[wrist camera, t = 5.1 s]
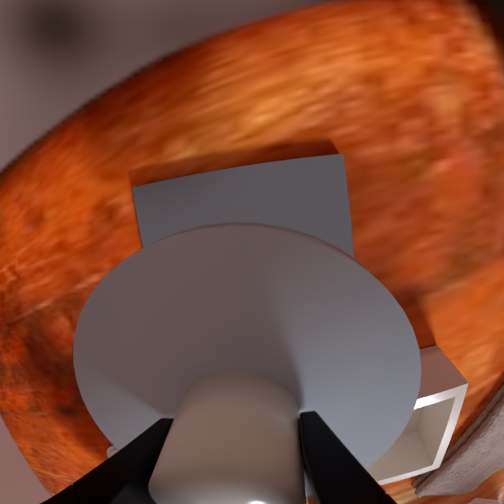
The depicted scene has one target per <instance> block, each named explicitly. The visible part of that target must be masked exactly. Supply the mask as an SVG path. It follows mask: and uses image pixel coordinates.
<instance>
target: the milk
mask: <svg viewBox="0 0 504 504" xmlns="http://www.w3.org/2000/svg"><path fill="white" fill-rule="evenodd" d="M468 504H500V503H499V501H498V500H494V499H483V498H475V499H473V500H472V501H471V502H469V503H468Z"/></svg>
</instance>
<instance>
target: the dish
mask: <svg viewBox="0 0 504 504" xmlns="http://www.w3.org/2000/svg"><path fill="white" fill-rule="evenodd" d="M420 359H421V382H420V389H419V394H418V398H417V402H416V405H415V407H414V410H413V412H412V415H411V417H410V420H409V421H408V423H407V425H406V426H405V428H404V430H403V431H402V433H401V435H400V436H399V437H398V439H397V440H396V441H395V442H394V444H393V445H392V446H391V447H390V449H389V450H388V451H387V452H386V453H385V454H384V455H383V456H382V457H380V458H379V459H378V460H377V461H376V462H375V463H374V464H372V465H371V466H370V467H368V468H367V469H366V470H367V471H368V472H369V474H370V475H371V476H372V477H373V478H374V479H375V480H376V481H377V482H378V484H379V485H383V484H387V483H391V482H395V481H399V480H402V479H406V478H409V477H413V476H416V475H419V474H422V473H425V472H428V471H431V470H434V469H437V468H439V467H440V464H441V462H442V460H443V457H444V455H445V452H446V450H447V447H448V445H449V442H450V439H451V437H452V434H453V431H454V428H455V426H456V423H457V420H458V417H459V414H460V411H461V407H462V404H463V401H464V397H465V394H466V390H467V387H468V382H467V381H466V379H465V378H464V377H463V376H462V374H461V373H460V372H459V371H458V369H457V368H456V367H455V366H454V365H453V363H452V362H451V361H450V360H449V359H448V357H447V356H446V355H445V354H444V353H443V351H442V350H441V349H440V348H439V347H438V346H437V345H436V346H432V347H428V348H424V349H420Z"/></svg>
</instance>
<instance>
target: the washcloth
mask: <svg viewBox="0 0 504 504" xmlns="http://www.w3.org/2000/svg"><path fill="white" fill-rule="evenodd" d="M502 468H504V384H503V385H502V387H501V388H500V390H499V391H498V392H497V394H495V396H494V397H493V398H492V400H491V401H490V403H489V404H488V405H487V407H486V408H485V409H484V410H483V411H482V413H481V414H480V415H479V416H478V417H477V418H476V419H475V421H474V423H472V424H471V426H470V427H468V429H467V430H466V432H465V433H463V435H462V436H461V437H460V438H459V439H458V440H457V442H456V443H455V444H454V445H453V446H452V447H451V448H450V449H449V450H448V451H447V452H446V453H445V455H444V457H443V460H442V462H441V464H440V467H439V468H437V469H434V470H431V471H428V472H425V473H424V474H422V475H421V476H420V477H419V478H418V479H416V480H415V481H414V482H413V483H412V484H411V485H412V487H414V488H416V490H415V493H416V494H417V495H418V497H419V498H420V497H422V496H428V495H458V494H459V495H460V494H461V495H462V494H464V493H470V492H472V491H474V490H475V489H476V488H477V487H478V486H479V485H480V484H481V483H482V482H483V481H485V480H486V479H487V478H489V477H490V476H491V475H492V474H493V473H495V472H497V471H499V470H501V469H502Z"/></svg>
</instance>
